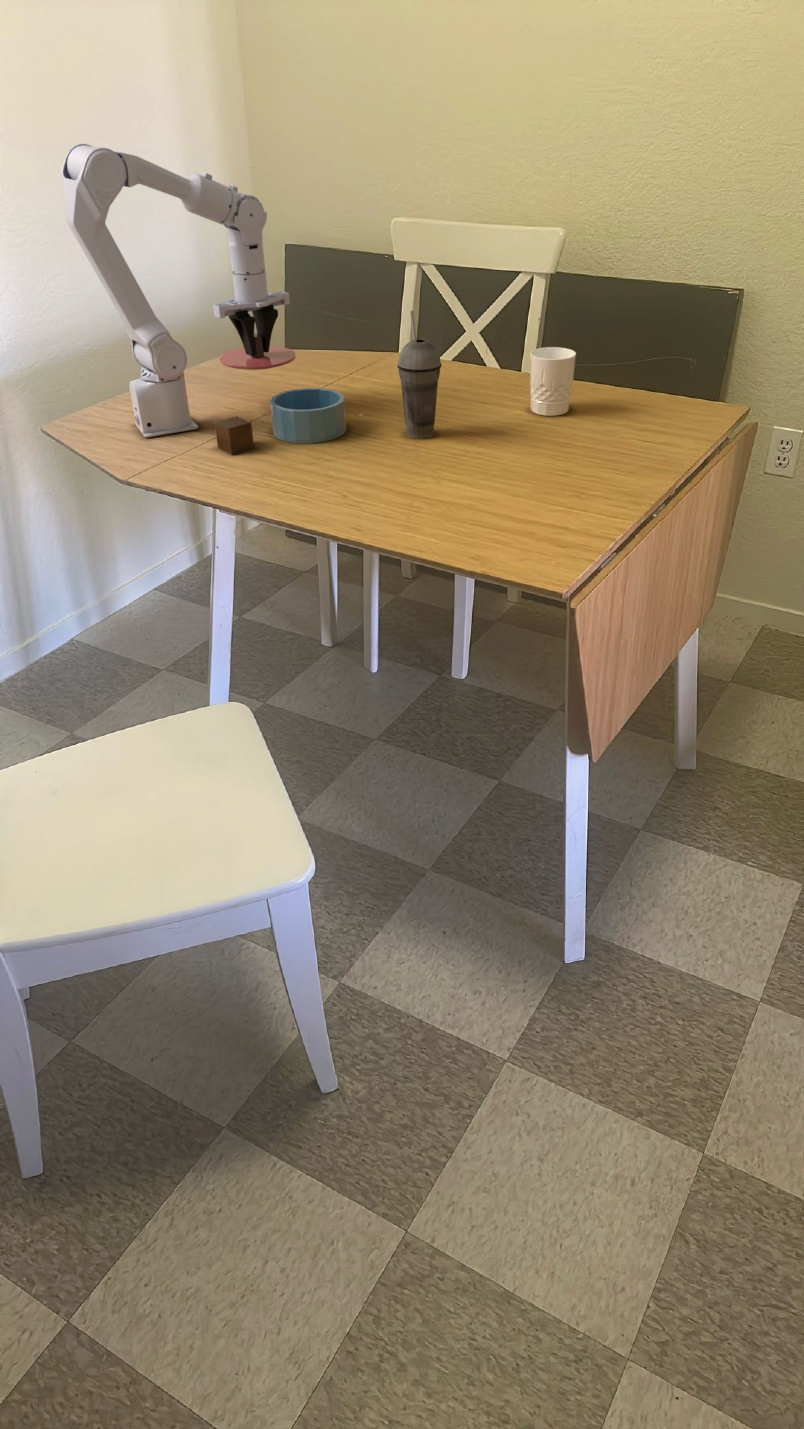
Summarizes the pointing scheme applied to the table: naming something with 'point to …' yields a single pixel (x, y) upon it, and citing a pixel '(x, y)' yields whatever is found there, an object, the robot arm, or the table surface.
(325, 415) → the bowl
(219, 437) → the block
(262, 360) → the lid
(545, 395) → the white cup
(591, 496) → the table surface
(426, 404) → the beverage cup
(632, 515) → the table surface
